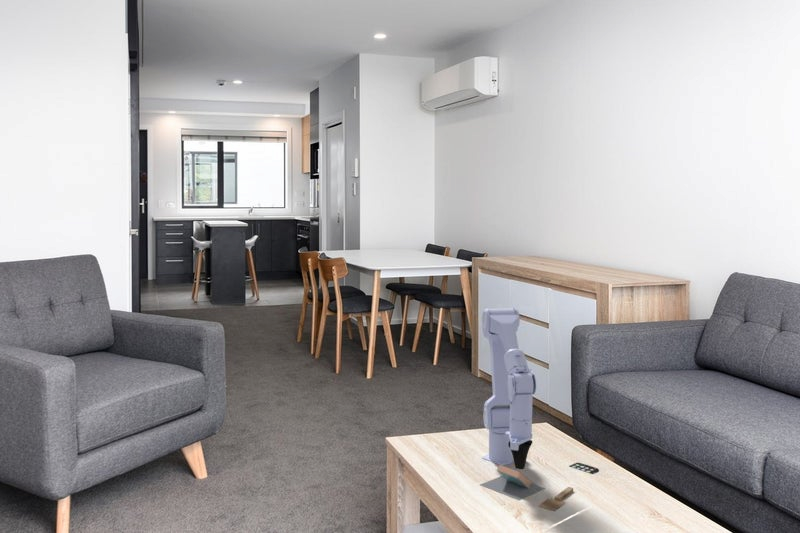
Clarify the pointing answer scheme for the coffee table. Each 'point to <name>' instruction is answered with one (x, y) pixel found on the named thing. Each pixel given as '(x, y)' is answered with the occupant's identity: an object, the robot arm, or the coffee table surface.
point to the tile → (514, 476)
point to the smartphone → (584, 468)
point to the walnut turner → (556, 500)
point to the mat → (511, 488)
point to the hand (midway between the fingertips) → (519, 468)
